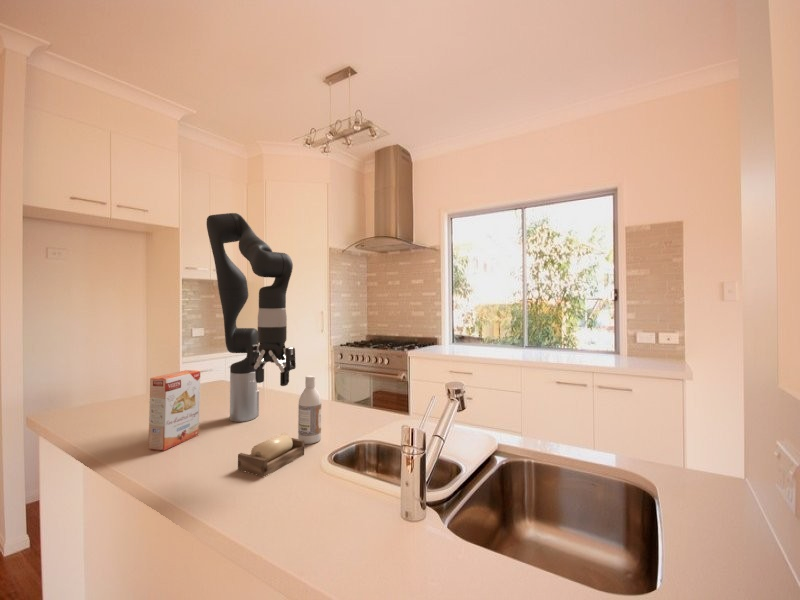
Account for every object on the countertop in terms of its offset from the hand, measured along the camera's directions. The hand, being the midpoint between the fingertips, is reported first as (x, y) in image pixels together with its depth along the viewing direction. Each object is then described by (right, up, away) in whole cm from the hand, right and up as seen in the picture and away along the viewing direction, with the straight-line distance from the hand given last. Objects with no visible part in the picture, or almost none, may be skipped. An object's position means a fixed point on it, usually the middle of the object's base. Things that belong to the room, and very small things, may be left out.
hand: (271, 383), depth 102 cm
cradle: (+1, -21, -2) cm, 21 cm away
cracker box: (-34, -21, +12) cm, 41 cm away
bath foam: (+7, -21, +14) cm, 26 cm away
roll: (+1, -20, -2) cm, 20 cm away
